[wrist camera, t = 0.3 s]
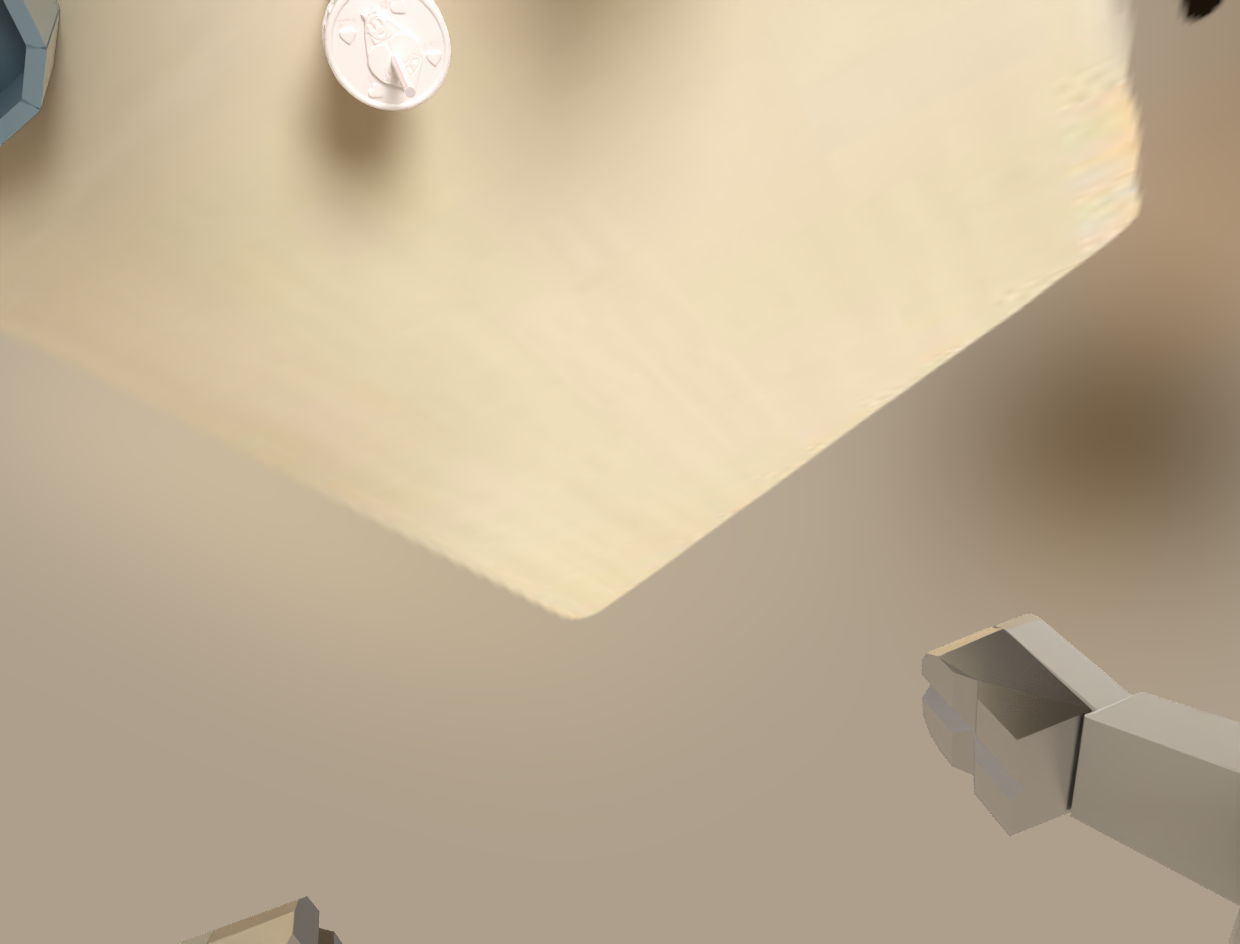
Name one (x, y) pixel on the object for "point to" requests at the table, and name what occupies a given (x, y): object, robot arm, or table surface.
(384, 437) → the table surface
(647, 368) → the table surface
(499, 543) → the table surface
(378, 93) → the smoothie
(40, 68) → the bowl
